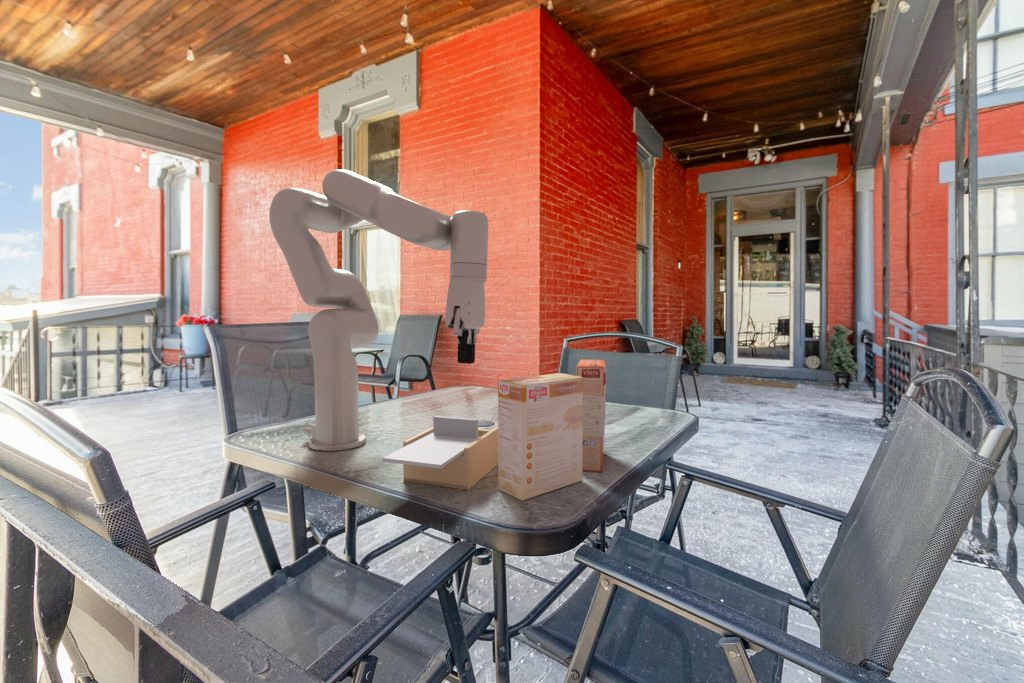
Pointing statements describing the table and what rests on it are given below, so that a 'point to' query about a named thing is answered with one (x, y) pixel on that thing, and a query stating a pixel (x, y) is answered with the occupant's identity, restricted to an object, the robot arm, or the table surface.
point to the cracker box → (593, 412)
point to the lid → (438, 443)
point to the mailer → (458, 463)
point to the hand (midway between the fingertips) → (466, 362)
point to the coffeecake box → (539, 434)
